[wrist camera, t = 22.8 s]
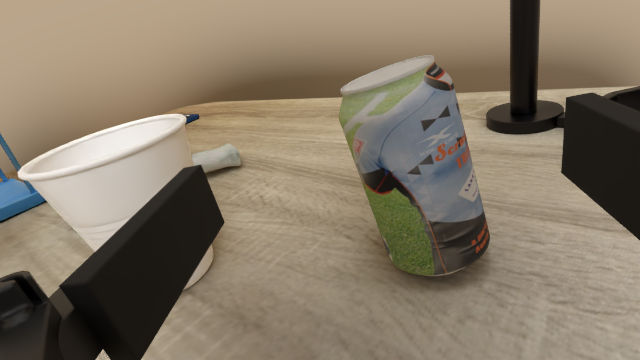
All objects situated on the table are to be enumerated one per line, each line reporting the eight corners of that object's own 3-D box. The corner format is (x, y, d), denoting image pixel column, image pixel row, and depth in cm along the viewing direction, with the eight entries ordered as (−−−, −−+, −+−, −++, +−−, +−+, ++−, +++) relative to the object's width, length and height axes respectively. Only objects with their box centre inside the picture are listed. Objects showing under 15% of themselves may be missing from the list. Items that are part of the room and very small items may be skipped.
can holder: (823, 165, 22) (975, -205, 15) (470, 160, 33) (459, -53, 26) (743, 99, 31) (812, -145, 24) (491, 112, 42) (487, -53, 35)
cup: (100, 280, 29) (21, 156, 24) (212, 221, 33) (164, 109, 29) (117, 354, 21) (7, 193, 16) (261, 264, 26) (206, 119, 21)
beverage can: (495, 294, 19) (488, 62, 14) (359, 286, 22) (313, 90, 16) (486, 225, 24) (479, 38, 19) (378, 226, 27) (347, 63, 22)
